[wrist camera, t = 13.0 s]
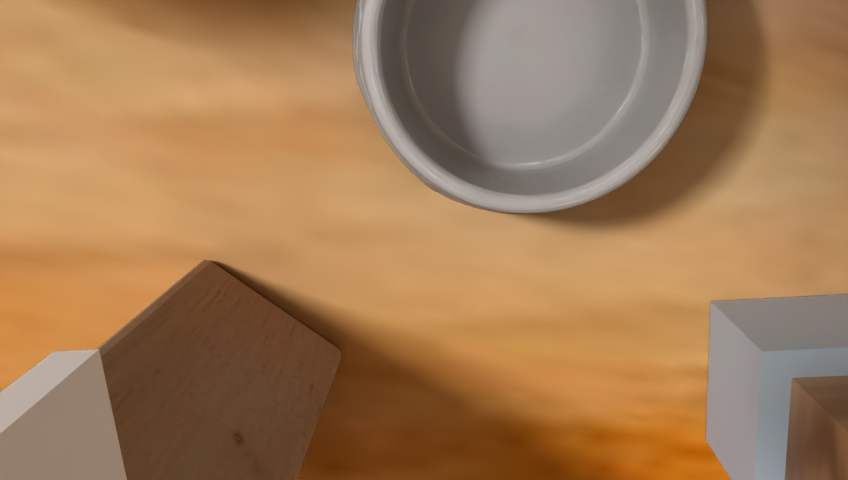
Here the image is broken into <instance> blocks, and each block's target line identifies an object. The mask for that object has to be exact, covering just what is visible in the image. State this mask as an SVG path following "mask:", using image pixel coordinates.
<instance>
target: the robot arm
mask: <svg viewBox="0 0 848 480" xmlns="http://www.w3.org/2000/svg"><path fill="white" fill-rule="evenodd" d="M0 480H127V478H126V473H125V469H124V464H123V459H122V455H121V450H120V445H119V440H118V436H117V431H116V426H115V422H114V417H113V412H112V408H111V403H110V398H109V394H108V389H107V384H106V380H105V375H104V370H103V366H102V361H101V356H100V352H99V349H96V350H77V351H59V352H53V353H51V354H50V355H49V356H48V357H46V358H45V359H44V360H42V361H41V362H40V363H38V364H37V365H36V366H34V367H33V368H32V369H30V370H29V371H28V372H27V373H25V374H24V375H23V376H21V377H20V378H19V379H17V380H16V381H15V382H13V383H12V384H11V385H9V386H8V387H7V388H6V389H4V390H3V391H2V392H0Z"/></svg>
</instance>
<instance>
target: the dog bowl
mask: <svg viewBox="0 0 848 480" xmlns="http://www.w3.org/2000/svg"><path fill="white" fill-rule="evenodd" d="M707 32H708V23H707V7H706V0H357V1H356V6H355V13H354V21H353V61H354V68H355V74H356V79H357V82H358V85H359V87H360V89H361V91H362V94H363V96H364V99H365V101H366V103H367V106H368V108H369V110H370V112H371V115H372V117H373V119H374V121H375V123H376V125H377V127H378V129H379V130H380V132H381V134H382V135H383V137H384V139H385V140H386V142H387V143H388V144H389V146H390V147H391V149H392V150H393V151H394V153H395V154H396V155H397V157H398V158H399V159H400V160H401V161H402V162H403V163H404V164H405V165H406V167H407V168H408V169H409V170H410V171H411V172H412V173H413V174H414V175H416V176H417V177H418V178H419V179H420V180H421V181H422V182H423V183H424V184H425V185H426V186H427V187H429V188H430V189H432V190H434V191H436V192H438V193H440V194H442V195H443V196H445V197H447V198H449V199H451V200H454V201H456V202H459V203H462V204H465V205H468V206H472V207H475V208H479V209H484V210H489V211H495V212H503V213H545V212H553V211H559V210H564V209H568V208H572V207H576V206H579V205H582V204H585V203H588V202H590V201H593V200H595V199H597V198H600V197H602V196H604V195H606V194H608V193H610V192H612V191H614V190H615V189H617V188H619V187H620V186H622V185H624V184H625V183H626V182H628V181H629V180H631V179H632V178H633V177H635V176H636V175H637V174H638V173H640V172H641V171H642V170H643V169H644V168H645V167H646V166H647V165H649V164H650V163H651V162H652V161H653V160H654V159H655V158H656V157H657V155H658V154H659V153H660V152H661V151H662V150H663V149H664V148H665V146H666V145H667V144H668V142H669V141H670V140H671V138H672V137H673V135H674V134H675V132H676V131H677V129H678V128H679V126H680V125H681V123H682V121H683V119H684V117H685V115H686V113H687V112H688V110H689V108H690V106H691V103H692V101H693V99H694V96H695V94H696V91H697V88H698V85H699V81H700V78H701V75H702V71H703V66H704V61H705V54H706V47H707Z"/></svg>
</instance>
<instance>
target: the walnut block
mask: <svg viewBox="0 0 848 480" xmlns="http://www.w3.org/2000/svg"><path fill="white" fill-rule="evenodd" d="M785 480H848V375H846V376H824V377H802V378H792V383H791V397H790V411H789V425H788V439H787V453H786V467H785Z"/></svg>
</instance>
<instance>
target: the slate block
mask: <svg viewBox="0 0 848 480" xmlns="http://www.w3.org/2000/svg"><path fill="white" fill-rule="evenodd" d="M846 375H848V294H840V295H821V296H802V297H782V298H763V299H744V300H725V301H711V307H710V335H709V363H708V391H707V419H706V441H707V443H708V444H709V446H710V447H711V449H712V450H713V452H714V453H715V455H716V457H717V458H718V460H719V461H720V463H721V464H722V466H723V467H724V469H725V471H726V472H727V474H728V475H729V477H730V478H731V480H785V467H786V453H787V439H788V425H789V411H790V397H791V383H792V378H802V377H824V376H846Z"/></svg>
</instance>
